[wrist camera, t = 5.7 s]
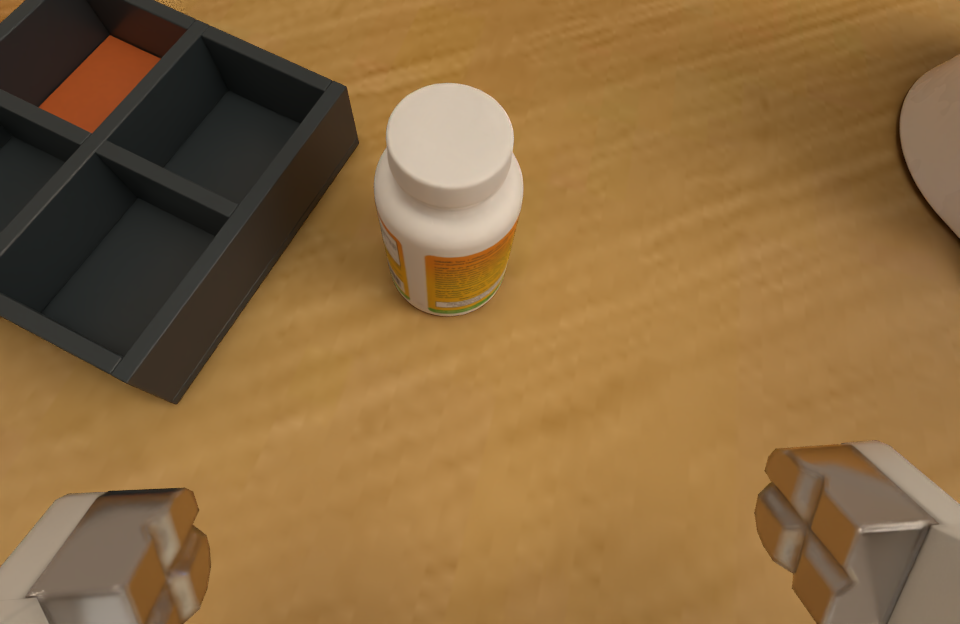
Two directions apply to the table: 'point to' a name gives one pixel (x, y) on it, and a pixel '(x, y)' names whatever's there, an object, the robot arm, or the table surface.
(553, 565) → the table surface
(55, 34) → the black compartment tray
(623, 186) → the table surface
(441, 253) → the supplement bottle
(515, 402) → the table surface
